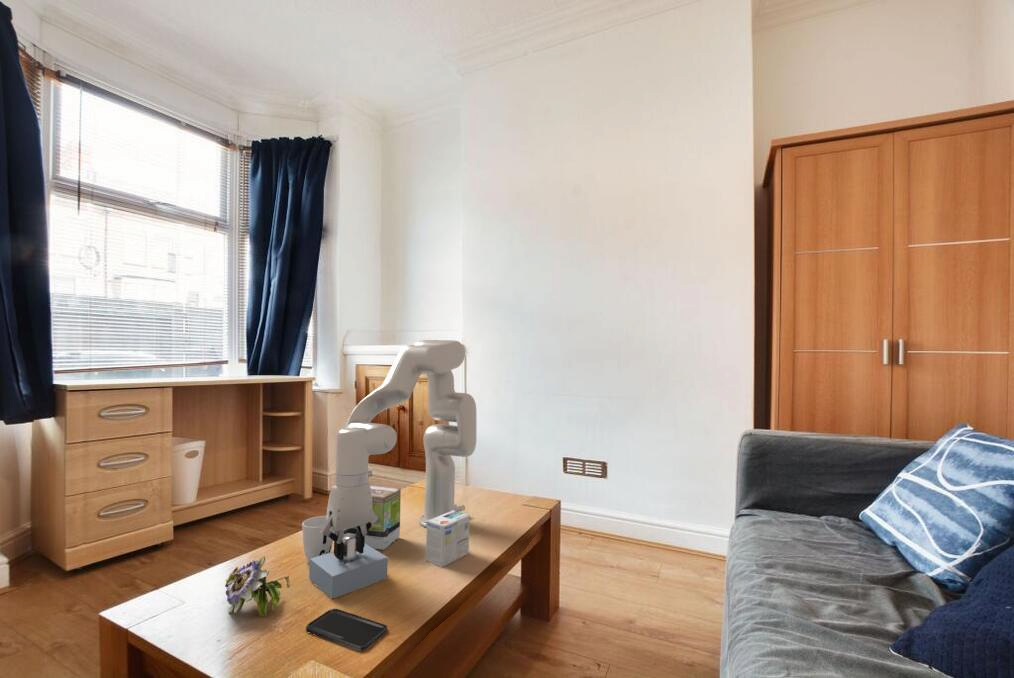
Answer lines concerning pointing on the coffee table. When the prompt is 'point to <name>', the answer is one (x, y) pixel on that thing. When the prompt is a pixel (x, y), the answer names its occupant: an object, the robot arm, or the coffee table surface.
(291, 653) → the coffee table surface
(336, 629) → the phone
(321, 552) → the cup
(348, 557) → the pin
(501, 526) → the coffee table surface
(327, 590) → the hole block
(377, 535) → the tea box
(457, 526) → the light bulb box
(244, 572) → the passion flower
